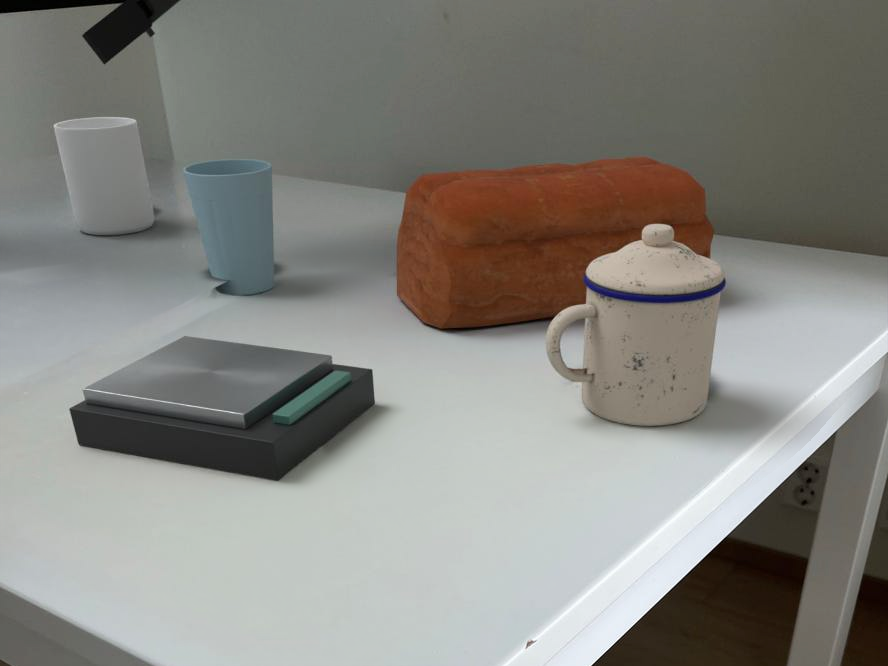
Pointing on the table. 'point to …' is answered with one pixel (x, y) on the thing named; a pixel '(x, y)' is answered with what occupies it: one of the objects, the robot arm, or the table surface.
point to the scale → (223, 406)
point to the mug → (105, 174)
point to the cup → (235, 221)
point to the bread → (532, 235)
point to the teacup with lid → (645, 331)
